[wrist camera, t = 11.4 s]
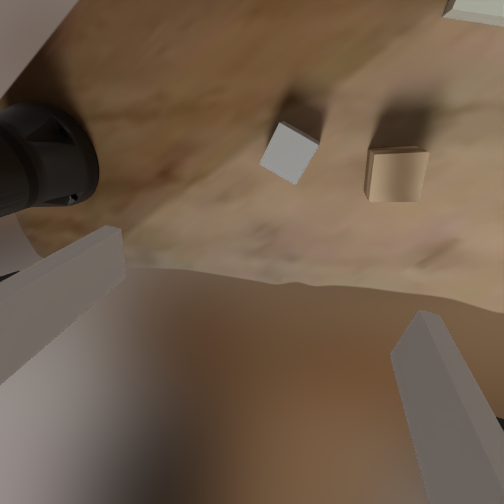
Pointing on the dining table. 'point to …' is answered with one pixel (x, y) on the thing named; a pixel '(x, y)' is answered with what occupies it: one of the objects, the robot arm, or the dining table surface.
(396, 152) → the oak block
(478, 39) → the dining table surface
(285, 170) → the grey block
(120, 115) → the dining table surface
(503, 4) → the tray
